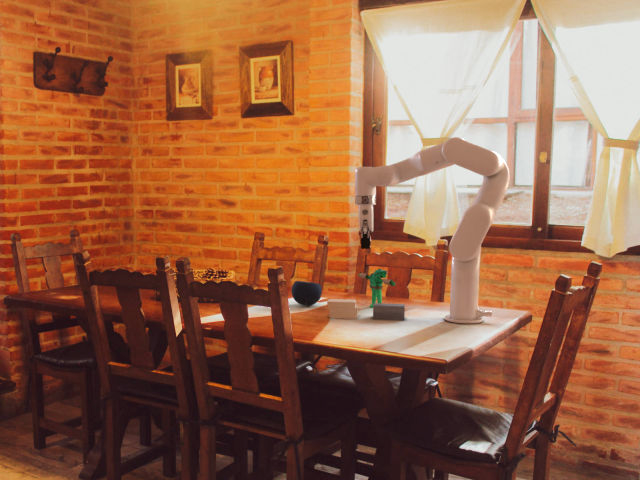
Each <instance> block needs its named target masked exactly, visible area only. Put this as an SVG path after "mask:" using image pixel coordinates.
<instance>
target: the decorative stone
mask: <svg viewBox="0 0 640 480" xmlns="http://www.w3.org/2000/svg"><path fill="white" fill-rule="evenodd" d="M322 294H323V288H322V286H321V284H320V283H317V282H310V281H302V280H295V281H294V282H293V284H292V286H291V296H292V298H293V300H294V301H295V302H296V303H297V304H299V305H300V306H305V307H309V306H313V305H315V304H317V303H318V302H319V300H321V298H322Z"/></svg>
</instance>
